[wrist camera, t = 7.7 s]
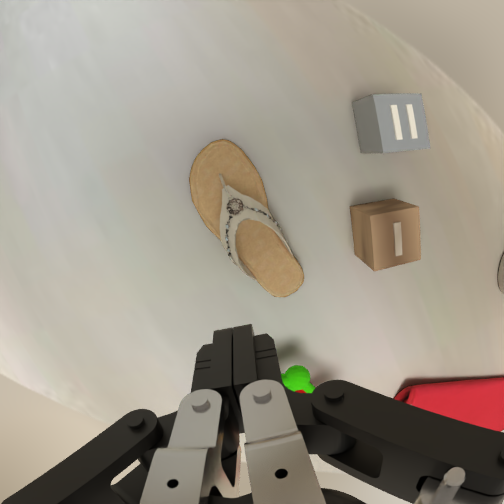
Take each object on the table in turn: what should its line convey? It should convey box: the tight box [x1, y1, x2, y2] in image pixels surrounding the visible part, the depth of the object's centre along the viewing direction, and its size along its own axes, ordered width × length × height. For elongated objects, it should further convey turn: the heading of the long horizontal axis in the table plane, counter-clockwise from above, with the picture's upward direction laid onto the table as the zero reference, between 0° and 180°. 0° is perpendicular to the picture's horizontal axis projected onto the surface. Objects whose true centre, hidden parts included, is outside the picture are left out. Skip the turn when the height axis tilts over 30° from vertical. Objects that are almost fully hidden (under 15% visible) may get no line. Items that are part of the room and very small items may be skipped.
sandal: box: [189, 139, 304, 297], centre depth 28 cm, size 7×16×5 cm, turn 35°
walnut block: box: [350, 199, 421, 271], centre depth 28 cm, size 5×5×5 cm
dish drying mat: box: [394, 377, 504, 432], centre depth 40 cm, size 16×41×4 cm, turn 76°
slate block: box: [352, 94, 430, 153], centre depth 25 cm, size 5×5×5 cm
